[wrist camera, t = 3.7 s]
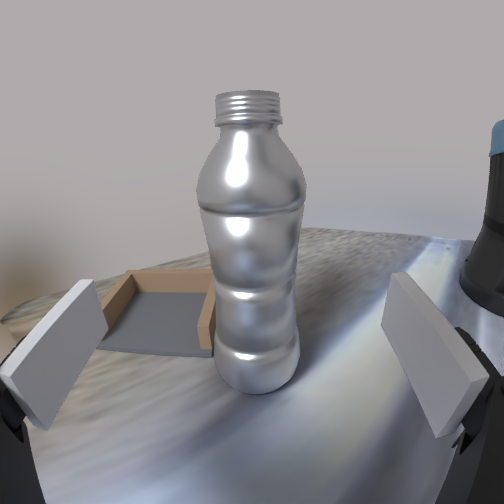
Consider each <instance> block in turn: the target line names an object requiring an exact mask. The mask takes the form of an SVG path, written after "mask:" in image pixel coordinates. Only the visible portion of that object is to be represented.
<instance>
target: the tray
mask: <svg viewBox="0 0 504 504" xmlns="http://www.w3.org/2000/svg"><path fill="white" fill-rule="evenodd" d="M213 276H214V275H213V272H212V269H186V270H127V271H126V273H125V274H124V275H123V276H122V277H121V278H120V280H119V281H118V282H117V283H116V284H115V285H114V287H113V288H112V289H111V290H110V291H109V293H108V294H107V295H106V296H105V298H104V299H103V300H102V301H101V302H100V304H101V307H102V310H103V313H104V316H105V320H106V323H107V326H108V328H109V329H108V331H107V332H106V334H105V335H104V337H103V338H102V340H101V341H100V343H99V344H98V346H97V348H96V349H104V350H112V351H121V352H131V353H142V354H154V355H169V356H187V357H212V354H213V349H214V336H215V330H216V298H215V287H214V280H213Z"/></svg>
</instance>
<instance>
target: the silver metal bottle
mask: <svg viewBox="0 0 504 504" xmlns="http://www.w3.org/2000/svg"><path fill="white" fill-rule="evenodd" d="M215 102H216V119H215V127H220V128H221V133H220V139H219V140H218V142H217V143H216V145H215V147H214V148H213V150H212V151H211V153H210V155H209V156H208V158H207V160H206V162H205V164H204V166H203V168H202V170H201V172H200V174H199V179H198V184H197V188H196V192H197V198H198V205H199V206H200V213H201V218H202V222H203V227H204V231H205V235H206V240H207V244H208V248H209V253H210V260H211V267H212V272H213V275H214V276H213V280H214V287H215V298H216V330H215V336H214V360H215V363H216V366H217V368H218V371H219V373H220V376H221V377H222V379H223V380H224V381H225V382H226V383H227V384H228V385H230V386H231V387H233V388H235V389H236V390H238V391H241V392H243V393H248V394H265V393H269V392H272V391H274V390H276V389H278V388H280V387H281V386H282V385H284V384H285V383H286V382H288V381H289V380H290V378H291V377H292V376H293V374H294V372H295V370H296V367H297V364H298V361H299V357H300V341H299V332H298V327H297V324H296V306H295V278H296V273H295V270H296V266H297V253H298V243H299V237H300V231H301V224H302V217H303V211H304V202H305V197H306V182H305V178H304V175H303V172H302V169H301V167H300V166H299V164H298V162H297V161H296V159H295V157H294V156H293V154H292V153H291V151H290V150H289V149H288V147H287V146H286V145H285V143H284V142H283V141H282V139H281V138H280V137H279V135H278V130H277V126H278V125H279V124H283V123H282V117H281V116H280V97H279V93H276V92H271V91H260V90H258V91H257V90H248V91H234V92H227V93H222V94H218V95H217V96H216V100H215Z"/></svg>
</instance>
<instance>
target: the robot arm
mask: <svg viewBox="0 0 504 504" xmlns="http://www.w3.org/2000/svg"><path fill="white" fill-rule="evenodd" d="M489 157H491V158H490V175H489V184H488V193H487V200H486V207H485V214H484V221H483V226H482V229H481V232H480V234H479V236H478V238H477V240H476V242H475V244H474V246H473V248H472V250H471V253H470V255H469V256H468V257H467V258H466V260H465V261H464V264H463V267H462V271H461V275H460V284H461V286H462V288H463V290H464V291H465V292H466V293H467V294H468V296H470V297H471V298H472V299H473V300H474V301H475V302H477V303H478V304H480V305H481V306H483V307H484V308H486V309H488V310H490V311H492V312H494V313H496V314H499V315H501V316H504V120H501V121H499V122H497V123H496V124H495V125H494V127H493V129H492V140H491V151H490V153H489ZM381 327H382V329H383V331H384V333H385V334H386V336H387V338H388V340H389V342H390V344H391V346H392V348H393V350H394V352H395V353H396V355H397V357H398V359H399V361H400V363H401V365H402V367H403V369H404V371H405V373H406V375H407V377H408V379H409V381H410V383H411V385H412V387H413V390H414V392H415V394H416V396H417V398H418V400H419V402H420V404H421V407H422V409H423V411H424V413H425V415H426V418H427V420H428V422H429V424H430V427H431V429H432V431H433V433H434V436H435V438H436V439H437V438H440V437H443V436H446V435H449V434H451V433H454V432H455V430H456V429H457V427H458V426H459V425H460V423H461V422H462V424H463V426H464V428H465V429H464V431H463V432H462V433H461V435H460V436H459V437H458V438H457V440H456V441H455V442H454V444H453V446H452V448H454V447H455V446H456V445H457V444H458V446H457V449H456V452H455V455H454V458H453V461H452V463H451V466H450V469H449V471H448V474H447V477H446V479H445V481H444V484H443V486H442V489H441V491H440V493H439V495H438V498H437V500H436V502H435V504H504V376H501V375H500V374H499V372H498V371H497V369H496V368H495V367H494V365H493V364H492V363H491V361H490V360H489V359H488V357H487V356H486V355H485V354H484V352H482V351H481V348H480V347H479V346H478V345H476V342H475V341H474V340H473V338H472V337H471V336H470V335H469V334H468V333H467V332H465V331H464V330H463V329H461V328H460V327H455V328H454V327H453V326H452V325H451V324H450V322H449V321H448V320H447V319H446V318H445V316H444V315H443V314H442V313H441V311H440V310H439V309H438V308H437V307H436V306H435V304H434V303H433V302H432V301H431V300H430V298H429V297H428V296H427V295H426V294H425V293H424V292H423V290H422V289H421V288H420V287H419V286H418V285H417V284H416V282H415V281H414V280H413V279H412V278H411V277H410V276H409V275H408V274H407V272H401V273H391V277H390V282H389V288H388V293H387V298H386V303H385V308H384V313H383V318H382V322H381ZM108 329H109V328H108V326H107V323H106V320H105V316H104V313H103V310H102V307H101V304H100V300H99V297H98V294H97V290H96V287H95V283H94V280H82V279H81V280H80V281H79V282H78V283H77V284H76V285H75V286H74V287H73V288H72V289H71V290H70V291H69V292H68V293H67V294H66V295H65V296H64V297H63V298H62V299H61V300H60V301H59V302H58V303H57V304H56V305H55V306H54V307H53V308H52V309H51V310H50V311H49V312H48V313H47V314H46V315H45V317H44V318H43V319H42V320H41V321H40V322H39V323H38V324H37V325H36V326H35V327H34V329H33V330H32V331H31V332H30V333H29V334H28V335H26V336H25V337H23V338H22V339H21V340H20V341H19V343H18V344H17V345H16V348H15V347H14V348H13V350H12V351H11V353H10V354H8V355H7V357H6V358H5V359H4V360H3V361H2V363H1V364H0V504H46V503H45V500H44V497H43V493H42V490H41V487H40V483H39V480H38V476H37V472H36V469H35V465H34V460H33V456H32V452H31V447H30V442H29V436H28V431H27V426H26V424H25V423H24V421H23V419H24V418H25V416H27V417H28V419H29V420H30V421H31V423H32V424H33V425H34V426H36V427H39V428H41V429H44V430H47V431H48V429H49V428H50V426H51V424H52V422H53V420H54V418H55V417H56V415H57V413H58V411H59V409H60V408H61V406H62V404H63V402H64V401H65V399H66V397H67V395H68V394H69V392H70V390H71V388H72V387H73V385H74V383H75V382H76V380H77V378H78V377H79V375H80V373H81V372H82V370H83V368H84V367H85V365H86V364H87V362H88V360H89V359H90V357H91V356H92V354H93V352H94V351H95V349H96V348H97V346H98V344H99V343H100V341H101V340H102V338H103V337H104V335H105V334H106V332H107V331H108Z"/></svg>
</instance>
